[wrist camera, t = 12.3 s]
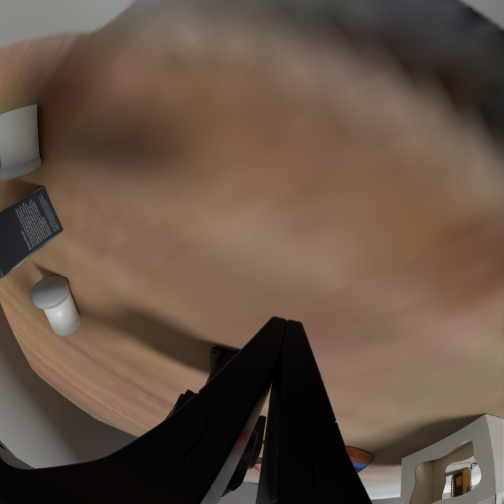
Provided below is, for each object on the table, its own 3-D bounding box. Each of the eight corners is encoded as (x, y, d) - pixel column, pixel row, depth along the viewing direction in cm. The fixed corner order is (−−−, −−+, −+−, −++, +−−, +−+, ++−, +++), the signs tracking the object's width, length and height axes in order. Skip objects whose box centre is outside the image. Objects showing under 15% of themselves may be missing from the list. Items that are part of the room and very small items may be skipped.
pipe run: (89, 319, 35) (66, 346, 30) (63, 307, 36) (41, 330, 31) (47, 101, 19) (2, 112, 14) (22, 109, 20) (-17, 121, 15)
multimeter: (466, 472, 48) (466, 516, 31) (446, 477, 49) (445, 523, 33) (490, 458, 40) (492, 506, 23) (470, 463, 42) (471, 515, 25)
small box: (35, 249, 31) (-14, 289, 22) (16, 210, 28) (-36, 245, 19) (65, 232, 27) (3, 281, 18) (44, 184, 24) (-25, 223, 16)
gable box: (431, 461, 40) (426, 555, 16) (400, 458, 40) (389, 567, 16) (507, 418, 28) (517, 527, 4) (486, 412, 27) (494, 545, 4)
